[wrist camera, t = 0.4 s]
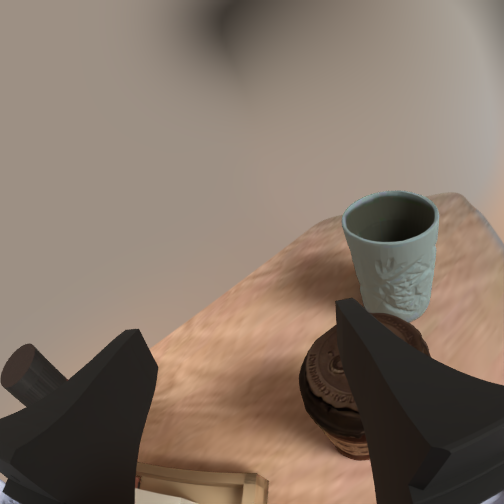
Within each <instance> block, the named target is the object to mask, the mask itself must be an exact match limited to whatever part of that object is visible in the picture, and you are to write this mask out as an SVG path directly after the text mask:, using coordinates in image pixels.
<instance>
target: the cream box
mask: <svg viewBox="0 0 504 504" xmlns="http://www.w3.org/2000/svg"><path fill="white" fill-rule="evenodd" d="M135 504H198V503H195V502H192V501H189V500H186V499H183V498H180V497H174V496H168V495H163V494H158V493H154V492H149V491H145V490H141V489H137V488H135Z"/></svg>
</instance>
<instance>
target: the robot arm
mask: <svg viewBox="0 0 504 504" xmlns="http://www.w3.org/2000/svg"><path fill="white" fill-rule="evenodd" d="M335 303H336V323H337V346H338V350H339V354H340V358H341V362H342V367H343V370H344V373H345V376H346V378H347V381H348V384H349V387H350V389H351V392H352V395H353V398H354V400H355V403H356V406H357V409H358V411H359V414H360V417H361V420H362V424H363V427H364V431H365V436H366V441H367V445H368V450H369V456H370V461H371V467H372V472H373V479H374V485H375V492H376V500H377V504H504V386H503V385H499V384H495V383H491V382H487V381H484V380H481V379H478V378H475V377H473V376H470V375H467V374H465V373H462V372H460V371H457V370H455V369H453V368H451V367H449V366H446V365H444V364H442V363H440V362H438V361H436V360H434V359H432V358H431V357H429V356H427V355H426V354H424V353H422V352H420V351H419V350H417V349H416V348H414V347H412V346H411V345H409V344H408V343H407V342H405V341H404V340H402V339H401V338H400V337H398V336H397V335H396V334H394V333H393V332H392V331H391V330H389V329H388V328H387V327H386V326H384V325H383V324H382V323H381V322H379V321H378V320H377V319H376V318H375V317H374V316H373V315H371V314H370V313H369V312H368V311H367V310H366V309H365V308H364V307H363V306H361V305H360V304H359V303H358V302H357V301H356V300H355V299H353V298H349V299H344V300H339V301H335ZM157 373H158V366H157V364H156V362H155V360H154V358H153V356H152V354H151V352H150V350H149V348H148V346H147V344H146V342H145V340H144V338H143V336H142V334H141V332H140V330H139V329H131V330H125V331H124V332H122V333H121V334H120V335H119V336H117V337H116V338H115V339H114V340H113V341H112V342H110V343H109V344H108V345H107V346H106V347H105V348H104V349H103V350H102V351H101V352H100V353H99V354H97V355H96V356H95V357H94V358H93V359H92V360H91V361H90V362H89V363H88V364H86V365H85V366H84V367H83V368H82V369H81V370H79V371H78V372H77V373H76V374H75V375H74V376H72V377H71V378H70V379H69V380H68V381H66V382H65V383H64V384H62V385H61V386H60V387H58V388H57V389H55V390H54V391H53V392H51V393H50V394H48V395H47V396H45V397H43V398H42V399H40V400H38V401H37V402H35V403H33V404H32V405H30V406H28V407H26V408H24V409H22V410H20V411H18V412H16V413H14V414H11V415H9V416H6V417H4V418H1V419H0V472H1V473H2V474H3V475H4V476H6V477H7V478H8V480H7V482H6V483H5V482H3V481H2V480H0V504H135V480H136V468H137V459H138V452H139V445H140V440H141V436H142V432H143V429H144V425H145V422H146V419H147V415H148V412H149V409H150V405H151V402H152V398H153V395H154V391H155V386H156V380H157Z"/></svg>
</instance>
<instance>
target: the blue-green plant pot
mask: <svg viewBox="0 0 504 504" xmlns="http://www.w3.org/2000/svg"><path fill="white" fill-rule="evenodd" d="M438 225H439V212H438V209H437V207H436V206H435V204H434V203H433V202H432V201H431V200H429V199H428V198H426V197H424V196H422V195H419V194H415V193H412V192H407V191H385V192H379V193H374V194H371V195H368V196H365V197H363V198H361V199H359V200H357V201H356V202H354V203H353V204H351V205H350V206H349V207H348V208H347V209H346V211H345V212H344V214H343V216H342V227H343V230H344V234H345V237H346V240H347V243H348V246H349V248H350V251H351V255H352V260H353V263H354V267H355V271H356V275H357V278H358V280H359V283H360V285H361V286H360V292H361V296H362V300H363V304H364V307H365V309H366V310H367V311H368V312H369V313H387V314H391V315H394V316H397V317H399V318H401V319H403V320H405V321H406V322H411V321H413V320H416V318H419V317H420V316H421V315H422V314H423V313H424V312H425V310H426V309H427V307H428V305H429V302H430V296H431V289H432V281H433V276H434V268H435V259H436V247H435V244H436V242H437V237H438Z"/></svg>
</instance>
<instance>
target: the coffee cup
mask: <svg viewBox="0 0 504 504" xmlns="http://www.w3.org/2000/svg"><path fill="white" fill-rule="evenodd" d="M370 314H371V315H373V316H374V317H375V318H376V319H377V320H378V321H379V322H381V323H382V324H383V325H384V326H386V327H387V328H388V329H389V330H391V331H392V332H393V333H394V334H396V335H397V336H398V337H400V338H401V339H402V340H404V341H405V342H407V343H408V344H409V345H411V346H412V347H414V348H416V349H417V350H419V351H420V352H422V353H424V354H426V355H427V356H429V357H431V356H430V353H429V349H428V346H427V344H426V342H425V341H424V340H423V338H422V337H421V336H422V335H421V333H420V332H419V331H418V330H417V329H416V328H415V327H414V326H413V325H411V324H410V323H409V322H406V321H405V320H403V319H401V318H399V317H397V316H394V315H391V314H387V313H370ZM299 386H300V391H301V395H302V398H303V401H304V405H305V409H306V411H307V413H308V414H309V415H310V416H311V418H312V419H313V420H314V421H315V423H316V424H318V425H319V427H320V428H321V429H322V430H323V431H324V433H325V434H326V436H327V437H328V438H329V439H330V440H331V441H332V443H333V444H335V447H336V448H337V450H338V451H339V452H340V453H341V454H343V455H344V456H346V457H349V458H351V459H355V460H369V459H370V456H369V450H368V445H367V441H366V436H365V431H364V427H363V424H362V420H361V417H360V414H359V411H358V409H357V406H356V403H355V400H354V398H353V395H352V392H351V389H350V387H349V384H348V381H347V378H346V376H345V373H344V370H343V367H342V362H341V358H340V354H339V350H338V346H337V325H335V326H334V327H333V328H331V329H330V330H329V331H327V332H326V333H325V334H323V335H322V336H321V337H319V338H318V339H317V340H316V341H315V342H314V344H313V345H312V347H311V348H310V350H309V351H308V353H307V355H306V357H305V359H304V362H303V364H302V366H301V370H300V374H299Z"/></svg>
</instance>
